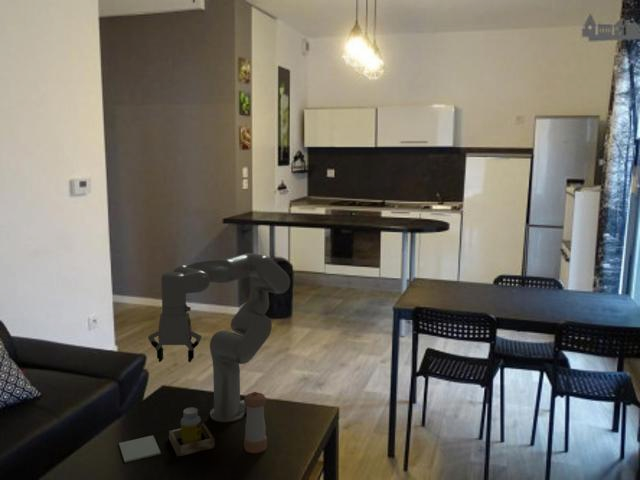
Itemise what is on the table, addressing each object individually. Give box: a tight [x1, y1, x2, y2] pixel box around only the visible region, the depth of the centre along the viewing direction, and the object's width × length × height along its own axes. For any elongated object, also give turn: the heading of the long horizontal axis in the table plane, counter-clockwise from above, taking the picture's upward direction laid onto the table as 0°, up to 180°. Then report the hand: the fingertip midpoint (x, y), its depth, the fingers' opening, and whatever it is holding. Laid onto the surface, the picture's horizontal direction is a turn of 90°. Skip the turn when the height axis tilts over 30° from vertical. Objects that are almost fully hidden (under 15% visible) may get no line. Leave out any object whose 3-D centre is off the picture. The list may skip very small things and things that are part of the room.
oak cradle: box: [168, 422, 216, 457], centre depth 182 cm, size 12×12×3 cm
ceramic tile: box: [118, 435, 161, 463], centre depth 178 cm, size 11×12×1 cm
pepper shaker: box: [243, 391, 268, 454], centre depth 178 cm, size 7×7×19 cm
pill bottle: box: [180, 407, 202, 445], centre depth 181 cm, size 6×6×12 cm
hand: (175, 360), depth 181 cm, fingers open, 9 cm apart
